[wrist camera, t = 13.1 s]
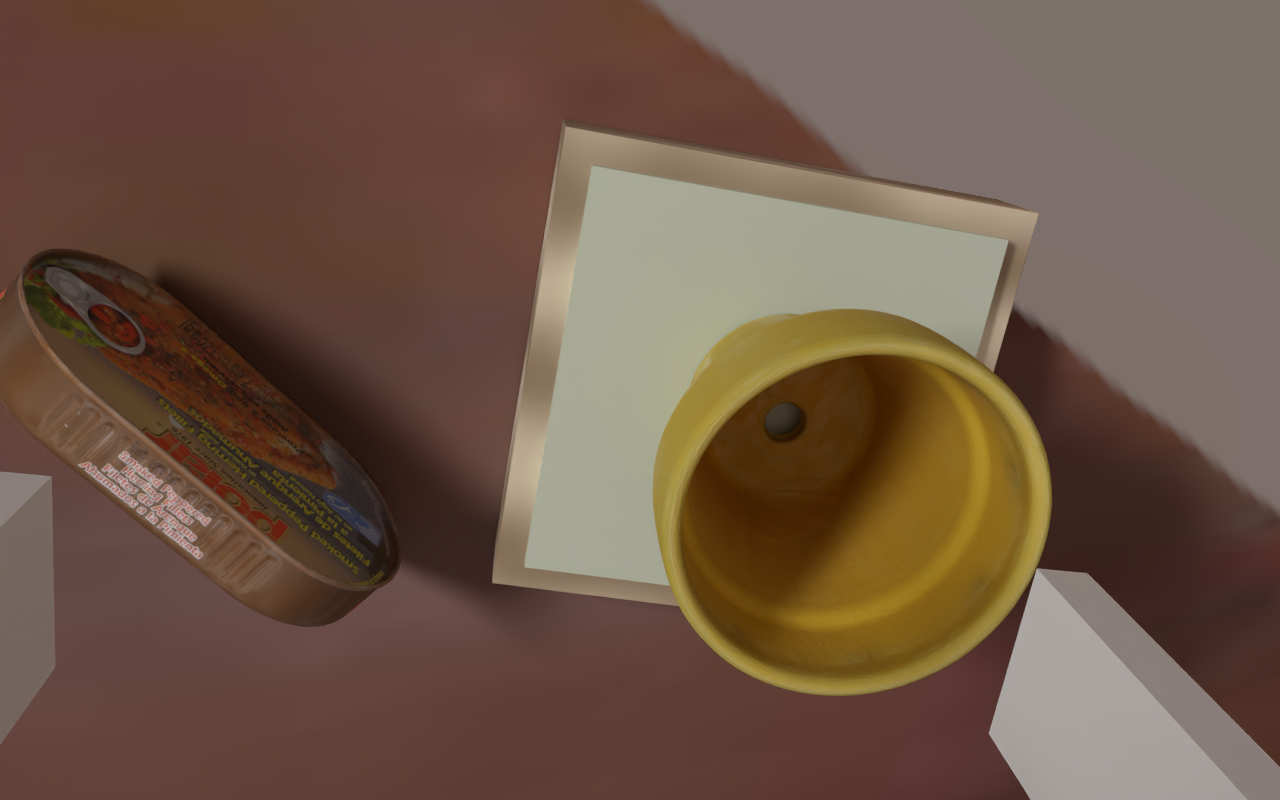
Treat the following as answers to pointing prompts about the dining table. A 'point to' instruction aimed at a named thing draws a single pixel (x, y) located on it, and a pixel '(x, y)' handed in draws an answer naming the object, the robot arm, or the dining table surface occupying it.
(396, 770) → the dining table surface
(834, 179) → the plinth
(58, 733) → the dining table surface
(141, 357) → the tin
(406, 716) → the dining table surface
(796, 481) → the plant pot
